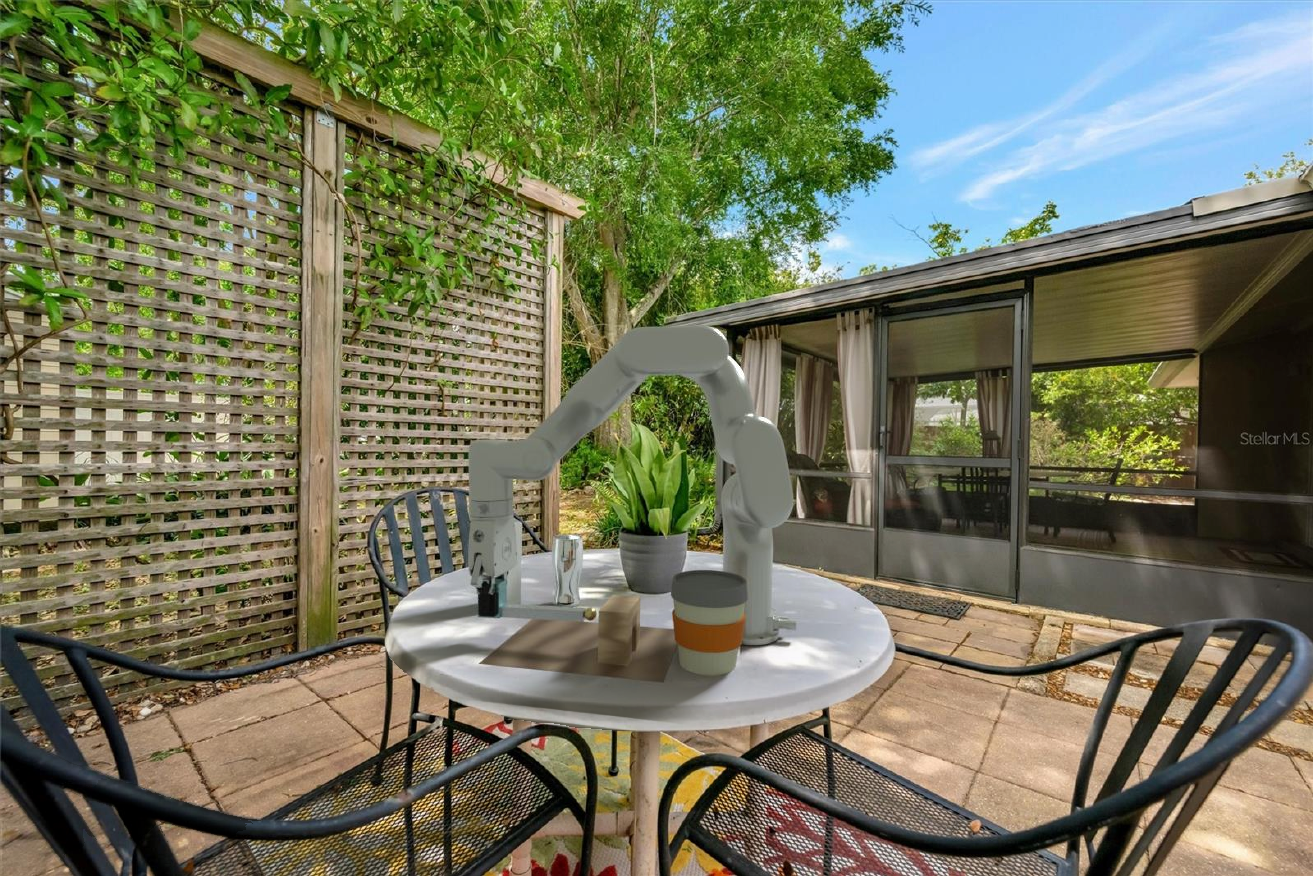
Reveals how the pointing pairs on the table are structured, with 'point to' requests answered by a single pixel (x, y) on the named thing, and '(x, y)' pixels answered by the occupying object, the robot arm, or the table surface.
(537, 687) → the table surface
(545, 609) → the hook rod
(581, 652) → the board
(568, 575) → the beer glass
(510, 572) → the milk
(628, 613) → the wooden toy block
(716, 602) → the reusable coffee cup
